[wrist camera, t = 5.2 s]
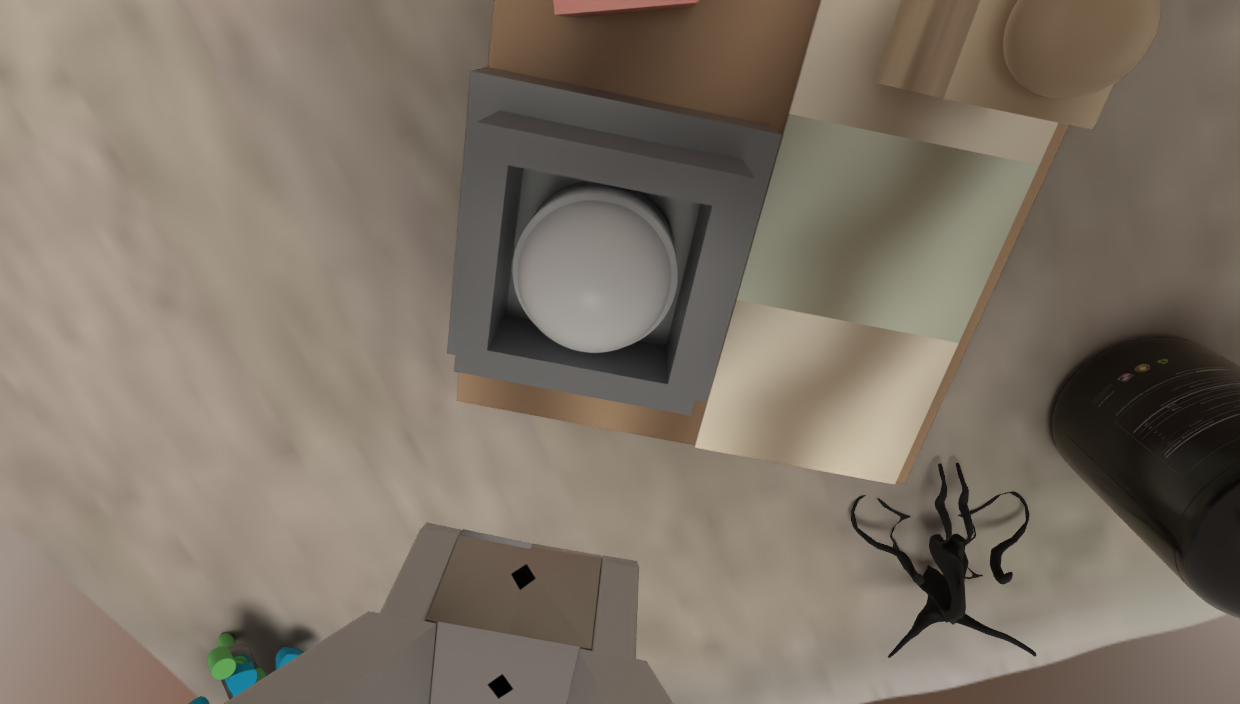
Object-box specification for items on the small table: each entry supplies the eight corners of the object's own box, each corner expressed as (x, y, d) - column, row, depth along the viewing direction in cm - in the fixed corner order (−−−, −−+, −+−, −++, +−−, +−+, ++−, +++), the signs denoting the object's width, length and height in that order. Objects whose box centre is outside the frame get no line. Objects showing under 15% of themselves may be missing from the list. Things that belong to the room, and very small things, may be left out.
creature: (845, 451, 31) (842, 603, 33) (882, 501, 26) (876, 679, 28) (1020, 446, 31) (1008, 601, 32) (1094, 496, 26) (1074, 678, 27)
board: (1142, -59, 21) (1159, -62, 21) (899, 475, 30) (905, 486, 30) (516, -196, 20) (511, -205, 20) (460, 394, 30) (455, 403, 29)
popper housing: (767, 123, 24) (800, 149, 19) (701, 366, 28) (712, 445, 23) (491, 66, 24) (443, 76, 18) (467, 322, 28) (422, 391, 23)
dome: (690, 194, 22) (699, 234, 18) (658, 334, 25) (658, 399, 20) (535, 163, 22) (507, 195, 18) (517, 308, 24) (487, 368, 20)
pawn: (1042, -27, 21) (1263, -60, 13) (988, 106, 23) (1157, 144, 15) (919, -54, 21) (1072, -102, 13) (874, 82, 23) (986, 109, 15)
